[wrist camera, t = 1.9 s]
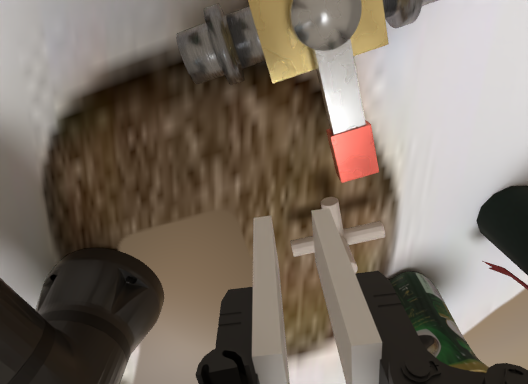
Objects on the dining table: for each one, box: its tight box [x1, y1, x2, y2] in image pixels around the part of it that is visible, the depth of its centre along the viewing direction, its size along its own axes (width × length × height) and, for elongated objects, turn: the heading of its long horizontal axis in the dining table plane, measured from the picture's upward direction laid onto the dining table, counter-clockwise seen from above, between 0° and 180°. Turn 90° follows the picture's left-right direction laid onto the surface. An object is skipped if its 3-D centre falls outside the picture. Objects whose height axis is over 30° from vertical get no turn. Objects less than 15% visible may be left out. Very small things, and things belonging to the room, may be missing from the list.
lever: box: [289, 0, 379, 183], centre depth 23 cm, size 14×4×2 cm, turn 18°
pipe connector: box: [291, 197, 385, 273], centre depth 36 cm, size 10×10×10 cm
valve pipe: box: [177, 0, 438, 85], centre depth 26 cm, size 22×7×9 cm, turn 108°
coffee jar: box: [390, 272, 489, 374], centre depth 38 cm, size 10×8×19 cm
